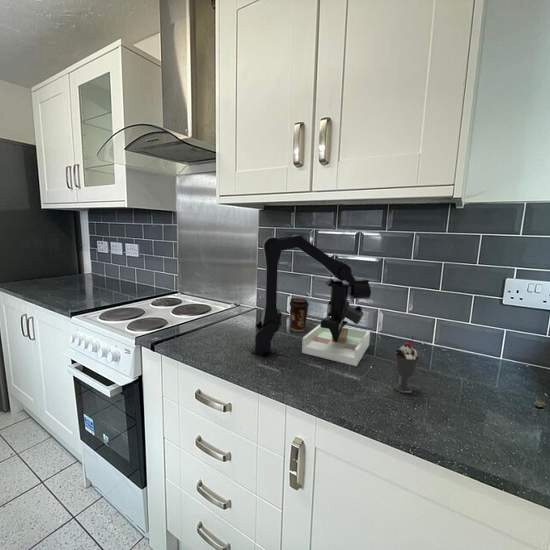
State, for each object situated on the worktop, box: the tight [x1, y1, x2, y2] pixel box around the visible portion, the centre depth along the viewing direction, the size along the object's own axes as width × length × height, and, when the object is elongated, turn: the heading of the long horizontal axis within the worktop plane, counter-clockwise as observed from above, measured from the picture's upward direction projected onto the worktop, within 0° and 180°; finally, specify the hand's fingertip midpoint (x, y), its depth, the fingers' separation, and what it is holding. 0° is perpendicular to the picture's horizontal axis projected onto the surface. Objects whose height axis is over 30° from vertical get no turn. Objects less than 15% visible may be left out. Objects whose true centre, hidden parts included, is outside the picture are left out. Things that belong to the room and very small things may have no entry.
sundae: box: [393, 335, 421, 391], centre depth 81 cm, size 7×7×15 cm
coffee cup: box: [289, 297, 310, 332], centre depth 127 cm, size 9×8×13 cm
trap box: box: [301, 324, 371, 367], centre depth 108 cm, size 20×19×6 cm
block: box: [332, 328, 348, 344], centre depth 109 cm, size 4×4×4 cm
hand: (336, 341), depth 105 cm, fingers closed
